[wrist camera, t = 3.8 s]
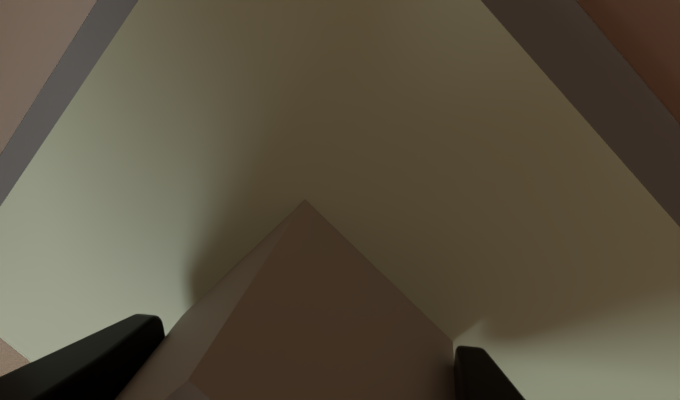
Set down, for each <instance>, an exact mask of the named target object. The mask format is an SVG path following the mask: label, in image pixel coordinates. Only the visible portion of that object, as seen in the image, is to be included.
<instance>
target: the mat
mask: <svg viewBox="0 0 680 400" xmlns="http://www.w3.org/2000/svg"><path fill="white" fill-rule="evenodd" d="M481 1H482V2H483V4H484V5H485V6H486V7H487V8H488V9H489V10H490V11H491V13H492V14H493V15H494V16H495V17H496V18H497V19H498V21H499V22H500V23H501V24H502V25H503V26H504V27H505V29H506V30H507V31H508V32H509V33H510V34H511V35H512V37H513V38H514V39H515V40H516V41H517V42H518V43H519V45H520V46H521V47H522V48H523V49H524V50H525V51H526V53H527V54H528V55H529V56H530V57H531V58H532V59H533V61H534V62H535V63H536V64H537V65H538V66H539V67H540V69H541V70H542V71H543V72H544V73H545V74H546V75H547V76H548V78H549V79H550V80H551V81H552V82H553V83H554V84H555V86H556V87H557V88H558V89H559V90H560V91H561V92H562V94H563V95H564V96H565V97H566V98H567V99H568V100H569V102H570V103H571V104H572V105H573V106H574V107H575V108H576V110H577V111H578V112H579V113H580V114H581V115H582V116H583V118H584V119H585V120H586V121H587V122H588V123H589V124H590V126H591V127H592V128H593V129H594V130H595V131H596V132H597V134H598V135H599V136H600V137H601V138H602V139H603V140H604V141H605V143H606V144H607V145H608V146H609V147H610V148H611V149H612V151H613V152H614V153H615V154H616V155H617V156H618V157H619V159H620V160H621V161H622V162H623V163H624V164H625V165H626V167H627V168H628V169H629V170H630V171H631V172H632V173H633V175H634V176H635V177H636V178H637V179H638V180H639V181H640V183H641V184H642V185H643V186H644V187H645V188H646V189H647V191H648V192H649V193H650V194H651V195H652V196H653V197H654V199H655V200H656V201H657V202H658V203H659V204H660V205H661V206H662V208H663V209H664V210H665V211H666V212H667V213H668V214H669V216H670V217H671V218H672V219H673V220H674V221H675V222H676V224H677V225H678V226H679V227H680V124H679V123H678V122H677V121H676V119H675V118H674V117H673V116H672V115H671V113H670V112H669V111H668V110H667V109H666V107H665V106H664V105H663V104H662V103H661V101H660V100H659V99H658V98H657V97H656V95H655V94H654V93H653V92H652V91H651V89H650V88H649V87H648V86H647V85H646V84H645V82H644V81H643V80H642V79H641V78H640V76H639V75H638V74H637V73H636V72H635V70H634V69H633V68H632V67H631V66H630V64H629V63H628V62H627V61H626V60H625V58H624V57H623V56H622V55H621V54H620V52H619V51H618V50H617V49H616V48H615V46H614V45H613V44H612V43H611V42H610V41H609V39H608V38H607V37H606V36H605V35H604V33H603V32H602V31H601V30H600V29H599V27H598V26H597V25H596V24H595V23H594V21H593V20H592V19H591V18H590V17H589V15H588V14H587V13H586V12H585V11H584V9H583V8H582V7H581V6H580V5H579V3H578V2H577V1H576V0H481ZM137 2H138V0H97V2H96V3H95V5H94V6H93V8H92V10H91V11H90V13H89V14H88V16H87V18H86V19H85V21H84V22H83V24H82V26H81V27H80V29H79V30H78V32H77V34H76V35H75V37H74V38H73V40H72V42H71V43H70V45H69V46H68V48H67V50H66V51H65V53H64V54H63V56H62V58H61V59H60V61H59V62H58V64H57V65H56V67H55V69H54V70H53V72H52V73H51V75H50V77H49V78H48V80H47V81H46V83H45V85H44V86H43V88H42V89H41V91H40V93H39V94H38V96H37V97H36V99H35V101H34V102H33V104H32V105H31V107H30V109H29V110H28V112H27V113H26V115H25V116H24V118H23V120H22V121H21V123H20V124H19V126H18V128H17V129H16V131H15V132H14V134H13V136H12V137H11V139H10V140H9V142H8V144H7V145H6V147H5V148H4V150H3V152H2V153H1V155H0V206H1V205H2V203H3V202H4V200H5V199H6V197H7V196H8V194H9V193H10V191H11V190H12V188H13V187H14V185H15V184H16V182H17V181H18V179H19V178H20V176H21V175H22V174H23V172H24V171H25V169H26V168H27V166H28V165H29V163H30V162H31V160H32V159H33V157H34V156H35V154H36V153H37V151H38V150H39V148H40V147H41V145H42V144H43V142H44V141H45V139H46V138H47V136H48V135H49V133H50V132H51V130H52V129H53V127H54V126H55V124H56V123H57V121H58V120H59V118H60V117H61V115H62V114H63V112H64V111H65V109H66V108H67V106H68V105H69V103H70V102H71V100H72V99H73V97H74V96H75V94H76V93H77V91H78V90H79V88H80V87H81V85H82V84H83V82H84V81H85V79H86V78H87V76H88V75H89V73H90V72H91V70H92V69H93V67H94V66H95V64H96V63H97V61H98V60H99V59H100V57H101V56H102V54H103V53H104V51H105V50H106V48H107V47H108V45H109V44H110V42H111V41H112V39H113V38H114V36H115V35H116V33H117V32H118V30H119V29H120V27H121V26H122V24H123V23H124V21H125V20H126V18H127V17H128V15H129V14H130V12H131V11H132V9H133V8H134V6H135V5H136V3H137Z"/></svg>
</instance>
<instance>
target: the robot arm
mask: <svg viewBox="0 0 680 400" xmlns="http://www.w3.org/2000/svg"><path fill="white" fill-rule="evenodd" d="M164 338H165V332H164V327H163V322H162V320H161V318H160V317H158V316H157V315H149V314H134V315H132V316H130V317H128V318H126V319H123V320H121V321H119V322H117V323H115V324H113V325H111V326H108V327H106V328H104V329H102V330H100V331H98V332H95V333H93V334H91V335H89V336H87V337H85V338H83V339H80V340H78V341H76V342H74V343H72V344H70V345H68V346H65V347H63V348H61V349H59V350H57V351H55V352H53V353H50V354H48V355H46V356H44V357H42V358H40V359H38V360H35V361H33V362H31V363H29V364H27V365H25V366H23V367H20V368H18V369H16V370H14V371H12V372H10V373H8V374H5V375H3V376H1V377H0V400H115V398H116V397H117V396H118V395H119V393H120V392H121V391H122V390H123V389H124V387H125V386H126V385H127V384H128V382H129V381H130V380H131V379H132V377H133V376H134V375H135V374H136V372H137V371H138V370H139V369H140V367H141V366H142V365H143V364H144V363H145V361H146V360H147V359H148V358H149V356H150V355H151V354H152V353H153V351H154V350H155V349H156V348H157V346H158V345H159V344H160V343H161V341H162V340H163V339H164ZM454 381H455V394H456V400H526V399H525V398H524V397H523V396H522V394H521V393H520V392H519V391H518V390H517V388H516V387H515V386H514V385H513V383H512V382H511V381H510V380H509V379H508V377H507V376H506V375H505V374H504V372H503V371H502V370H501V369H500V368H499V366H498V365H497V364H496V363H495V361H494V360H493V359H492V358H491V357H490V355H489V354H488V353H487V352H486V350H484V349H483V348H481V347H472V346H462V345H460V346H458V347H457V348H456V351H455V358H454Z"/></svg>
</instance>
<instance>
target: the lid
mask: <svg viewBox="0 0 680 400" xmlns="http://www.w3.org/2000/svg"><path fill="white" fill-rule="evenodd" d="M134 314H149V315H157V316H158V317H160V318H161V320H162V322H163V327H164V332H165V338H164V339H163V340H162V341H161V343H160V344H159V345H158V346H157V348H156V349H155V350H154V351H153V353H152V354H151V355H150V356H149V358H148V359H147V360H146V361H145V363H144V364H143V365H142V366H141V367H140V369H139V370H138V371H137V372H136V374H135V375H134V376H133V377H132V379H131V380H130V381H129V382H128V384H127V385H126V386H125V387H124V389H123V390H122V391H121V392H120V393H119V395H118V396H117V397H116V398H115V400H456V394H455V381H454V358H455V351H456V348H457V347H458V346H460V345H462V346H472V347H481V348H483V349H484V350H486V352H487V353H488V354H489V355H490V357H491V358H492V359H493V360H494V361H495V363H496V364H497V365H498V366H499V368H500V369H501V370H502V371H503V372H504V374H505V375H506V376H507V377H508V379H509V380H510V381H511V382H512V383H513V385H514V386H515V387H516V388H517V390H518V391H519V392H520V393H521V394H522V396H523V397H524V398H525V399H526V400H680V227H679V226H678V225H677V224H676V222H675V221H674V220H673V219H672V218H671V217H670V216H669V214H668V213H667V212H666V211H665V210H664V209H663V208H662V206H661V205H660V204H659V203H658V202H657V201H656V200H655V199H654V197H653V196H652V195H651V194H650V193H649V192H648V191H647V189H646V188H645V187H644V186H643V185H642V184H641V183H640V181H639V180H638V179H637V178H636V177H635V176H634V175H633V173H632V172H631V171H630V170H629V169H628V168H627V167H626V165H625V164H624V163H623V162H622V161H621V160H620V159H619V157H618V156H617V155H616V154H615V153H614V152H613V151H612V149H611V148H610V147H609V146H608V145H607V144H606V143H605V141H604V140H603V139H602V138H601V137H600V136H599V135H598V134H597V132H596V131H595V130H594V129H593V128H592V127H591V126H590V124H589V123H588V122H587V121H586V120H585V119H584V118H583V116H582V115H581V114H580V113H579V112H578V111H577V110H576V108H575V107H574V106H573V105H572V104H571V103H570V102H569V100H568V99H567V98H566V97H565V96H564V95H563V94H562V92H561V91H560V90H559V89H558V88H557V87H556V86H555V84H554V83H553V82H552V81H551V80H550V79H549V78H548V76H547V75H546V74H545V73H544V72H543V71H542V70H541V69H540V67H539V66H538V65H537V64H536V63H535V62H534V61H533V59H532V58H531V57H530V56H529V55H528V54H527V53H526V51H525V50H524V49H523V48H522V47H521V46H520V45H519V43H518V42H517V41H516V40H515V39H514V38H513V37H512V35H511V34H510V33H509V32H508V31H507V30H506V29H505V27H504V26H503V25H502V24H501V23H500V22H499V21H498V19H497V18H496V17H495V16H494V15H493V14H492V13H491V11H490V10H489V9H488V8H487V7H486V6H485V5H484V4H483V2H482V1H481V0H138V2H137V3H136V5H135V6H134V8H133V9H132V11H131V12H130V14H129V15H128V17H127V18H126V20H125V21H124V23H123V24H122V26H121V27H120V29H119V30H118V32H117V33H116V35H115V36H114V38H113V39H112V41H111V42H110V44H109V45H108V47H107V48H106V50H105V51H104V53H103V54H102V56H101V57H100V59H99V60H98V61H97V63H96V64H95V66H94V67H93V69H92V70H91V72H90V73H89V75H88V76H87V78H86V79H85V81H84V82H83V84H82V85H81V87H80V88H79V90H78V91H77V93H76V94H75V96H74V97H73V99H72V100H71V102H70V103H69V105H68V106H67V108H66V109H65V111H64V112H63V114H62V115H61V117H60V118H59V120H58V121H57V123H56V124H55V126H54V127H53V129H52V130H51V132H50V133H49V135H48V136H47V138H46V139H45V141H44V142H43V144H42V145H41V147H40V148H39V150H38V151H37V153H36V154H35V156H34V157H33V159H32V160H31V162H30V163H29V165H28V166H27V168H26V169H25V171H24V172H23V174H22V175H21V176H20V178H19V179H18V181H17V182H16V184H15V185H14V187H13V188H12V190H11V191H10V193H9V194H8V196H7V197H6V199H5V200H4V202H3V203H2V205H1V206H0V338H1V339H3V340H4V341H5V342H6V343H8V344H9V345H10V346H11V347H13V348H14V349H15V350H16V351H18V352H19V353H20V354H21V355H23V356H24V357H25V358H26V359H28V360H29V361H30V362H33V361H35V360H38V359H40V358H42V357H44V356H46V355H48V354H50V353H53V352H55V351H57V350H59V349H61V348H63V347H65V346H68V345H70V344H72V343H74V342H76V341H78V340H80V339H83V338H85V337H87V336H89V335H91V334H93V333H95V332H98V331H100V330H102V329H104V328H106V327H108V326H111V325H113V324H115V323H117V322H119V321H121V320H123V319H126V318H128V317H130V316H132V315H134Z"/></svg>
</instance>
